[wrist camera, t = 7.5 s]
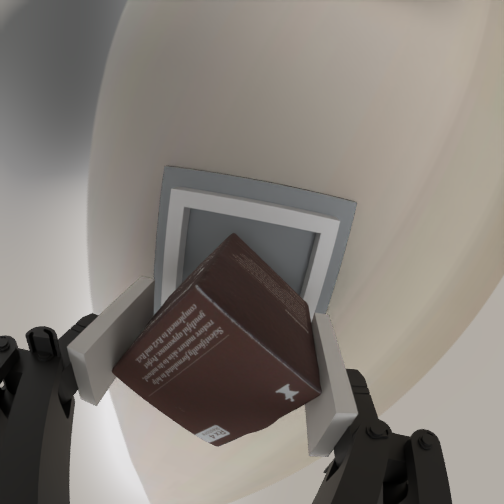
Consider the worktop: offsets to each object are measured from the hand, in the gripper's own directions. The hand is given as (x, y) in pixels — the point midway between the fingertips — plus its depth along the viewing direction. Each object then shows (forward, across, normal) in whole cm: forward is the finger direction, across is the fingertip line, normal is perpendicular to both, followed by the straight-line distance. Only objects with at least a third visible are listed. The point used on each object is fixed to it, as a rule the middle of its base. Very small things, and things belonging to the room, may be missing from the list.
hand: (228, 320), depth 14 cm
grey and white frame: (+7, 0, 0) cm, 7 cm away
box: (+3, 0, 0) cm, 3 cm away
